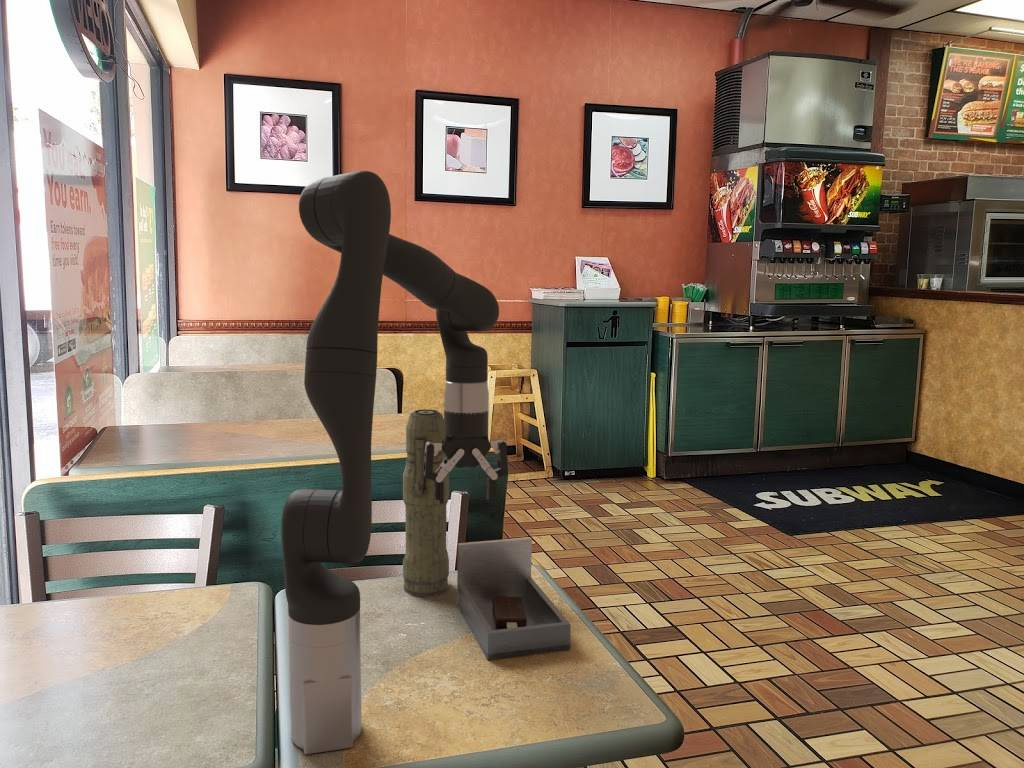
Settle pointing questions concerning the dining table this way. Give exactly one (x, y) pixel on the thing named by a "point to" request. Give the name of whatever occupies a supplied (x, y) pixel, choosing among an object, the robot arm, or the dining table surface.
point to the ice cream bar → (509, 612)
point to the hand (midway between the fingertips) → (465, 501)
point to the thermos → (424, 509)
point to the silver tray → (508, 574)
